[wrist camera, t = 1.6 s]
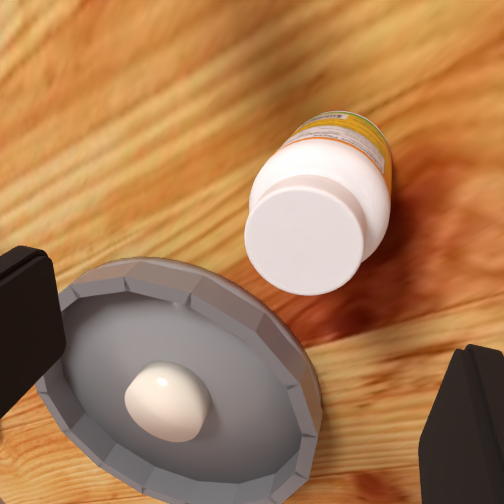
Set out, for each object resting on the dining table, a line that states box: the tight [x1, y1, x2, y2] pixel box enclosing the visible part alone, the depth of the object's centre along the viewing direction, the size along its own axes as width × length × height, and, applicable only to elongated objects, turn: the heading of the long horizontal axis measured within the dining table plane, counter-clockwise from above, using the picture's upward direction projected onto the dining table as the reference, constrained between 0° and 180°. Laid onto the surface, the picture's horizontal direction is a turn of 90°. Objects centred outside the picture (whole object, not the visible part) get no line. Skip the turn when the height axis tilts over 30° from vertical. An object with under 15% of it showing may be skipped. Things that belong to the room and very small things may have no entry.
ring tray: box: [35, 257, 323, 504], centre depth 32 cm, size 22×22×3 cm
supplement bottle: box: [244, 111, 392, 296], centre depth 18 cm, size 5×5×10 cm
